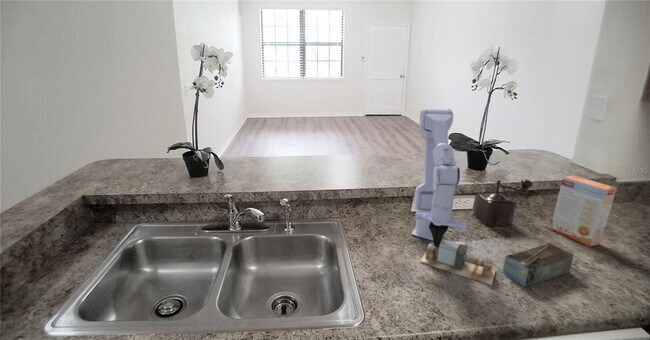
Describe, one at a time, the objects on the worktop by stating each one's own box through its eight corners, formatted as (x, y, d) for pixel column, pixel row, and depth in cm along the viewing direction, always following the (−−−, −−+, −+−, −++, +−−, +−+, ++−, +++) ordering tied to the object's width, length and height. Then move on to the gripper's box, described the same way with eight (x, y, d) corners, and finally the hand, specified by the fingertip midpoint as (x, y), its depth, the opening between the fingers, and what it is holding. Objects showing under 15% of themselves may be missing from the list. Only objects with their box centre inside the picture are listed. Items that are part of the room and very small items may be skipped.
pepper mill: (487, 227, 125) (496, 182, 119) (472, 214, 135) (479, 172, 130) (526, 226, 126) (536, 181, 121) (508, 213, 137) (516, 171, 131)
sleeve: (437, 260, 101) (439, 244, 99) (441, 254, 105) (443, 238, 103) (454, 266, 98) (456, 249, 97) (457, 259, 102) (460, 242, 100)
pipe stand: (420, 262, 102) (421, 249, 101) (427, 250, 109) (429, 238, 107) (491, 285, 92) (494, 271, 91) (495, 270, 98) (498, 257, 97)
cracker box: (601, 244, 114) (618, 187, 108) (589, 247, 112) (606, 189, 106) (560, 226, 126) (573, 174, 120) (549, 229, 124) (562, 176, 118)
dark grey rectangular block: (453, 268, 98) (456, 252, 97) (457, 259, 103) (460, 244, 101) (460, 270, 97) (463, 254, 96) (464, 261, 102) (467, 245, 100)
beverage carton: (500, 272, 98) (504, 252, 96) (544, 259, 105) (549, 241, 103) (524, 288, 91) (529, 267, 89) (570, 273, 98) (576, 254, 96)
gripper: (413, 203, 98) (409, 244, 103) (465, 215, 91) (458, 258, 95) (421, 195, 104) (416, 234, 108) (470, 206, 97) (463, 248, 101)
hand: (436, 245), depth 102 cm, fingers closed
